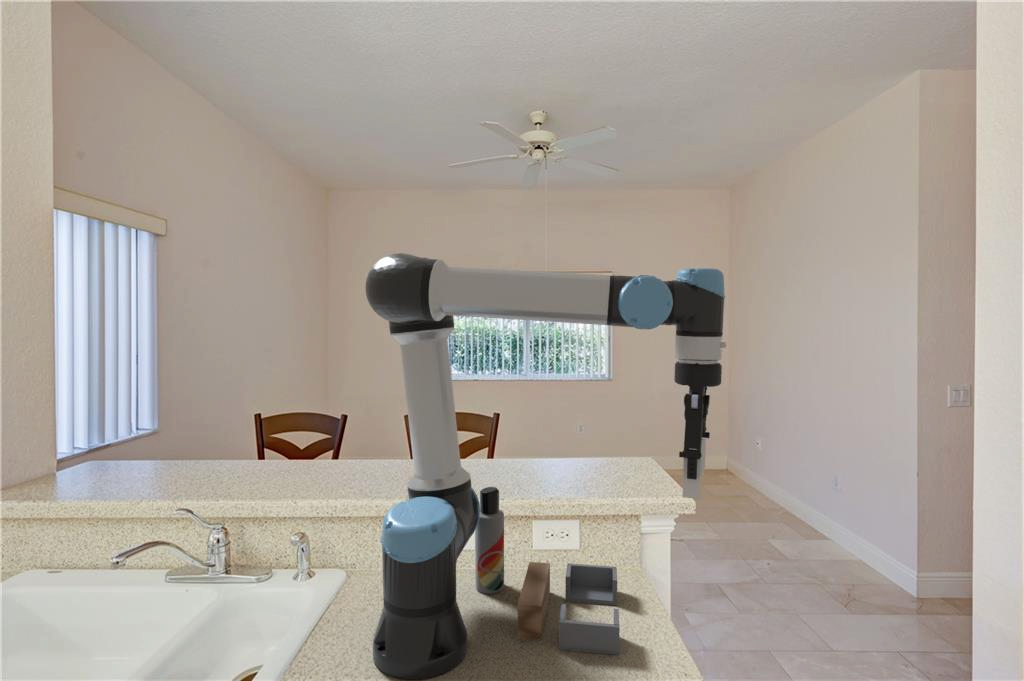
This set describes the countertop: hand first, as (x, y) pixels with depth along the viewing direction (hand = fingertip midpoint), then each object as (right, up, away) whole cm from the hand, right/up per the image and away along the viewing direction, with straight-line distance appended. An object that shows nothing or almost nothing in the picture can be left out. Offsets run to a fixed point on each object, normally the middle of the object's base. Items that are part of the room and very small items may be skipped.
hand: (694, 485), depth 97 cm
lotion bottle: (-35, -25, +16) cm, 46 cm away
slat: (-27, -25, +6) cm, 37 cm away
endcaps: (-17, -25, +5) cm, 31 cm away
